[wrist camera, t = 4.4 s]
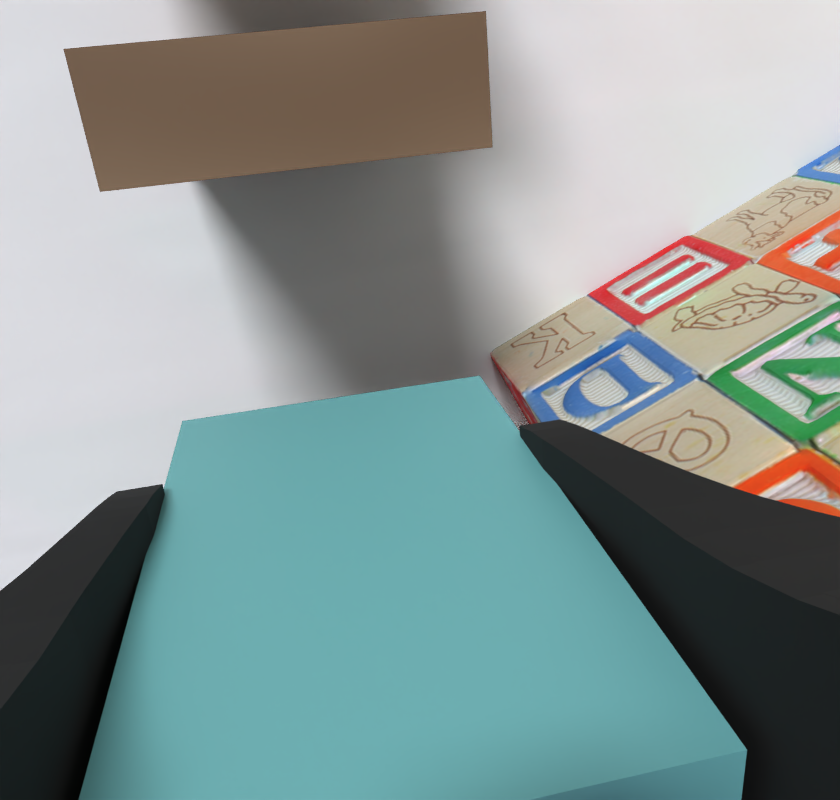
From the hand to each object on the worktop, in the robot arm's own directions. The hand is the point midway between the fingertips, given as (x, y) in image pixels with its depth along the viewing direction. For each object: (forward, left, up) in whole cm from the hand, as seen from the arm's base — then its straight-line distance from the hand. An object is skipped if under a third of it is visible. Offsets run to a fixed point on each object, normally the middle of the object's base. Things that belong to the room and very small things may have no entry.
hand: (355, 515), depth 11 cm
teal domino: (0, 0, -2) cm, 2 cm away
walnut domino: (0, +5, -9) cm, 10 cm away
